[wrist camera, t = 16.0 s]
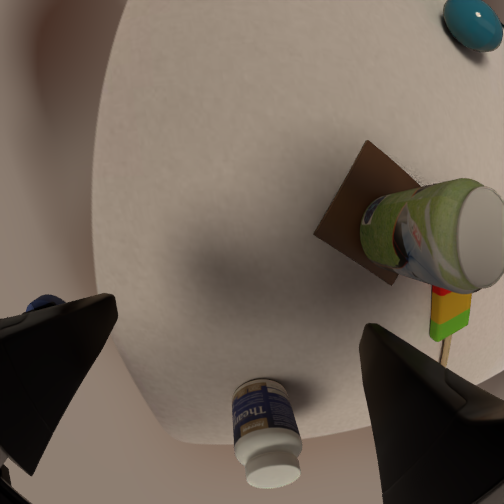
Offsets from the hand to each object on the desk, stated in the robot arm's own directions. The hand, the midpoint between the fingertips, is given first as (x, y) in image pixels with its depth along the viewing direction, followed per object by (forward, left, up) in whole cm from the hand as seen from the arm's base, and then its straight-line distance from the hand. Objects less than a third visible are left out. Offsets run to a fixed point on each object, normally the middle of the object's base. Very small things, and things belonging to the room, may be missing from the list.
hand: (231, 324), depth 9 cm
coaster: (+13, -1, -12) cm, 18 cm away
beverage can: (+12, -2, -12) cm, 17 cm away
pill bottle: (-2, -15, -12) cm, 19 cm away
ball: (+34, +17, -12) cm, 40 cm away
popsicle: (+20, -15, -12) cm, 27 cm away
